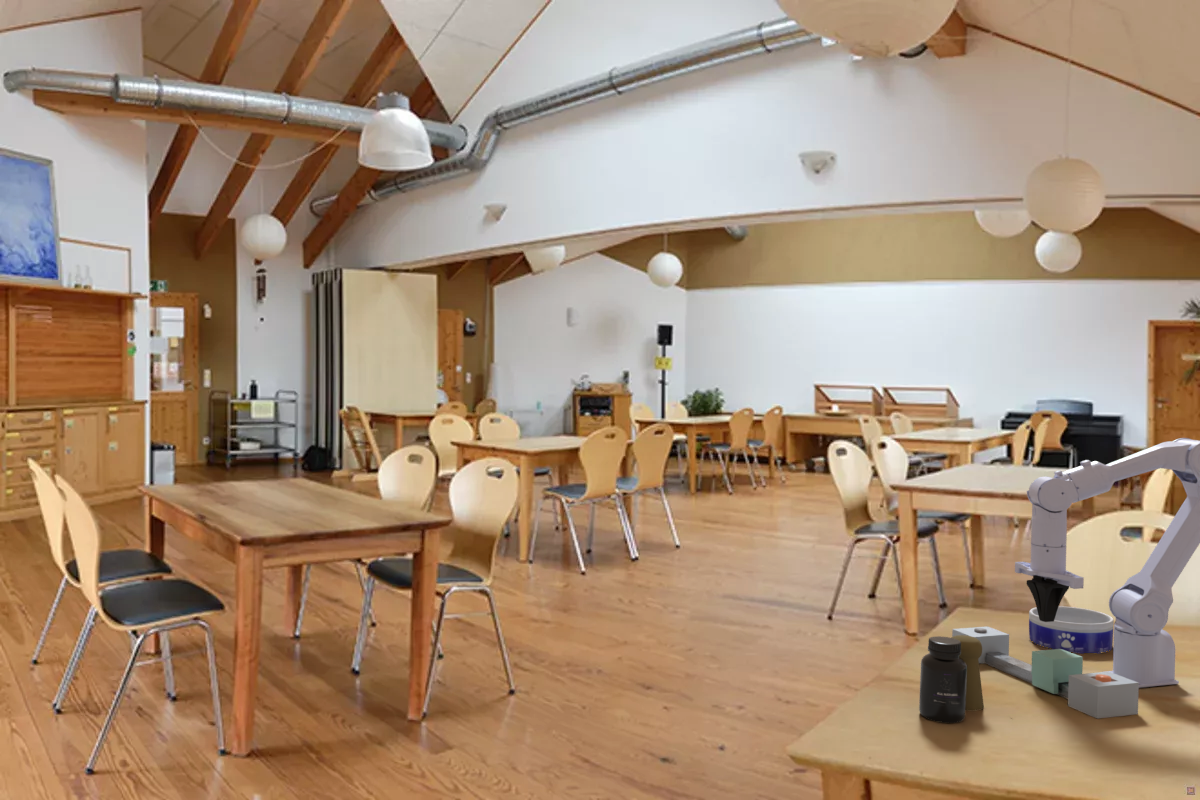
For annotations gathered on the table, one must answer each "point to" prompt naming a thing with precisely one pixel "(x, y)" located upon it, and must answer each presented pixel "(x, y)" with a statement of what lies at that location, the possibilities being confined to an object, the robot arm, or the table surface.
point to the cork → (972, 671)
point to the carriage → (1054, 668)
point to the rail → (1018, 669)
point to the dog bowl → (1073, 630)
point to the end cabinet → (1103, 695)
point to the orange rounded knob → (1103, 678)
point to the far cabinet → (987, 640)
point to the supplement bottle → (943, 681)
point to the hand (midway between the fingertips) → (1046, 620)
